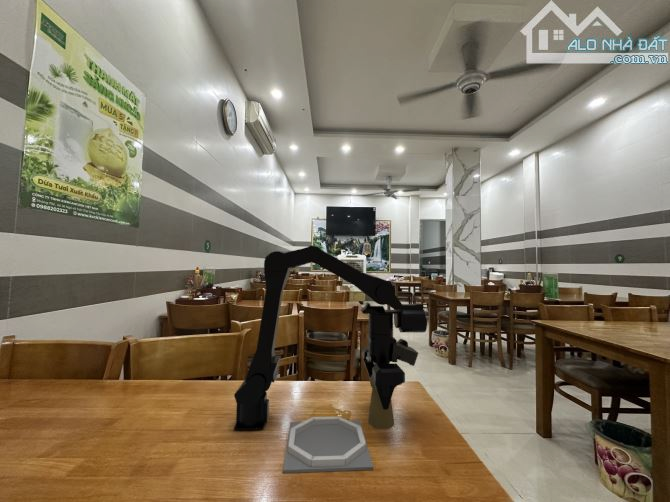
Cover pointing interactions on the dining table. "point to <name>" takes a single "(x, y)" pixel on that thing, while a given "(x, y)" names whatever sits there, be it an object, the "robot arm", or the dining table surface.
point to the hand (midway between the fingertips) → (380, 399)
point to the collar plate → (326, 446)
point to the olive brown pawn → (379, 411)
